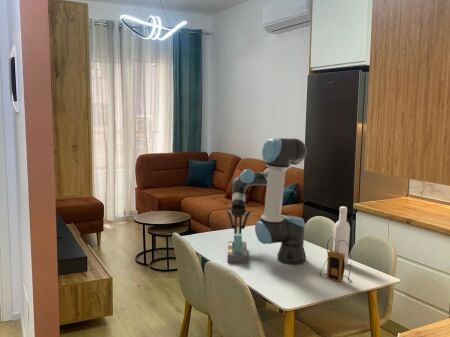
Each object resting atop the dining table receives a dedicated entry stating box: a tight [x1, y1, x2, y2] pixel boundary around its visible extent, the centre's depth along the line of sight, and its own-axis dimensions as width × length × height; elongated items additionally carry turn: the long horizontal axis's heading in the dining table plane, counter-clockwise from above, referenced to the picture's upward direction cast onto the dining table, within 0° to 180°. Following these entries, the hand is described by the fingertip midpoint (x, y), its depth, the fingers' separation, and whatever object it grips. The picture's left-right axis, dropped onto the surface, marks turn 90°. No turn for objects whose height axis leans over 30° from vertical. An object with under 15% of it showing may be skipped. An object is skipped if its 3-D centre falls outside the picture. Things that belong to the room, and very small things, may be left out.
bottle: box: [332, 206, 351, 266], centre depth 229 cm, size 8×8×30 cm
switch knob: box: [233, 233, 243, 255], centre depth 231 cm, size 5×4×11 cm
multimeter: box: [319, 237, 352, 283], centre depth 209 cm, size 15×10×20 cm
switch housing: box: [226, 240, 248, 264], centre depth 238 cm, size 24×10×4 cm, turn 178°
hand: (237, 239), depth 237 cm, fingers closed
